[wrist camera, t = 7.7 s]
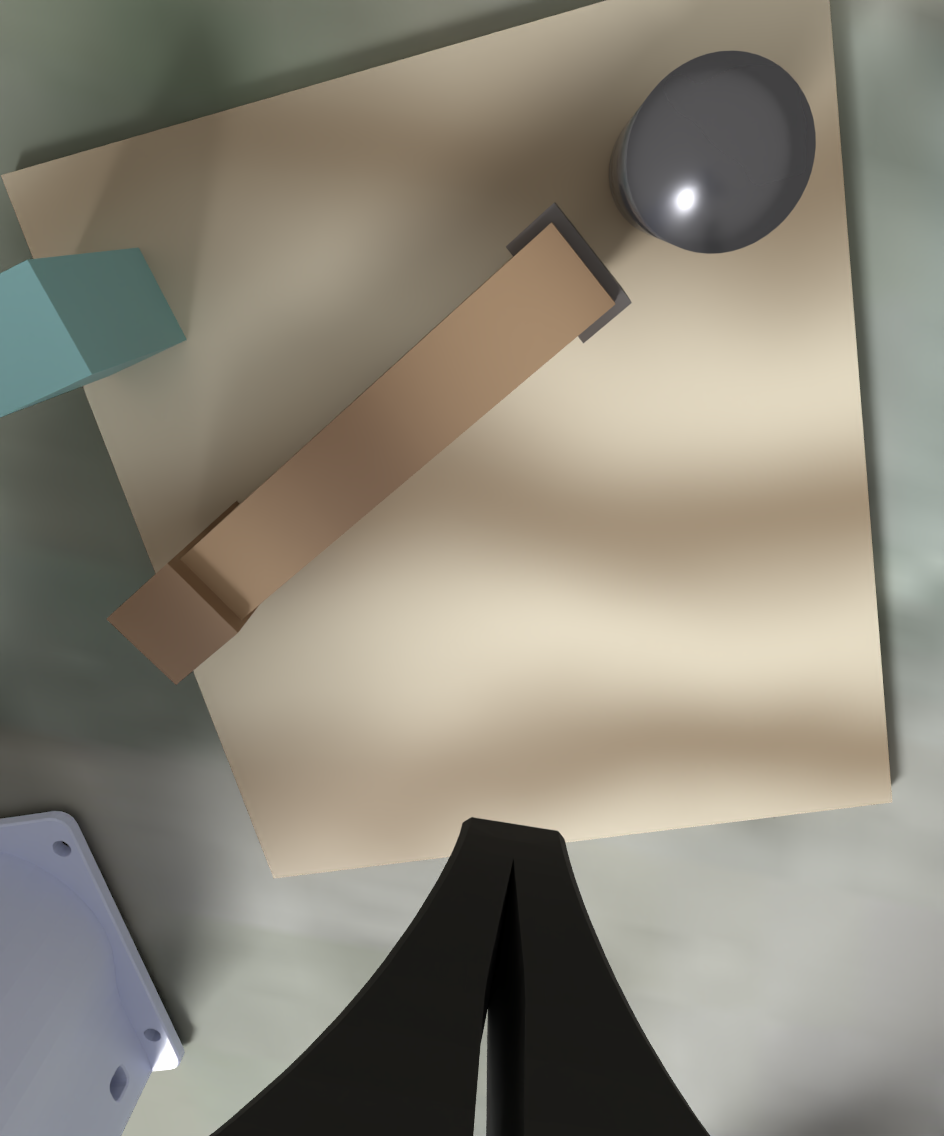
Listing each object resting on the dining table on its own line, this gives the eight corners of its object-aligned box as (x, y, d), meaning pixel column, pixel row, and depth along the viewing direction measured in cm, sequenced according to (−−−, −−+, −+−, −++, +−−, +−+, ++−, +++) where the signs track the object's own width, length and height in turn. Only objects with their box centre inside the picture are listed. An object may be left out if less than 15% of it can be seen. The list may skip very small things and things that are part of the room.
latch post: (194, 337, 19) (91, 374, 15) (118, 372, 20) (-2, 418, 16) (147, 246, 19) (27, 259, 15) (69, 285, 19) (-68, 308, 15)
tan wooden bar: (555, 201, 17) (553, 203, 13) (621, 287, 17) (635, 308, 14) (180, 545, 20) (101, 615, 17) (244, 608, 21) (179, 688, 17)
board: (887, 792, 22) (892, 802, 21) (278, 867, 25) (273, 878, 24) (818, -57, 16) (824, -63, 15) (12, 175, 18) (0, 175, 18)
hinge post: (742, 220, 17) (823, 230, 12) (618, 250, 18) (642, 271, 12) (726, 84, 17) (806, 26, 11) (597, 119, 17) (612, 79, 11)
